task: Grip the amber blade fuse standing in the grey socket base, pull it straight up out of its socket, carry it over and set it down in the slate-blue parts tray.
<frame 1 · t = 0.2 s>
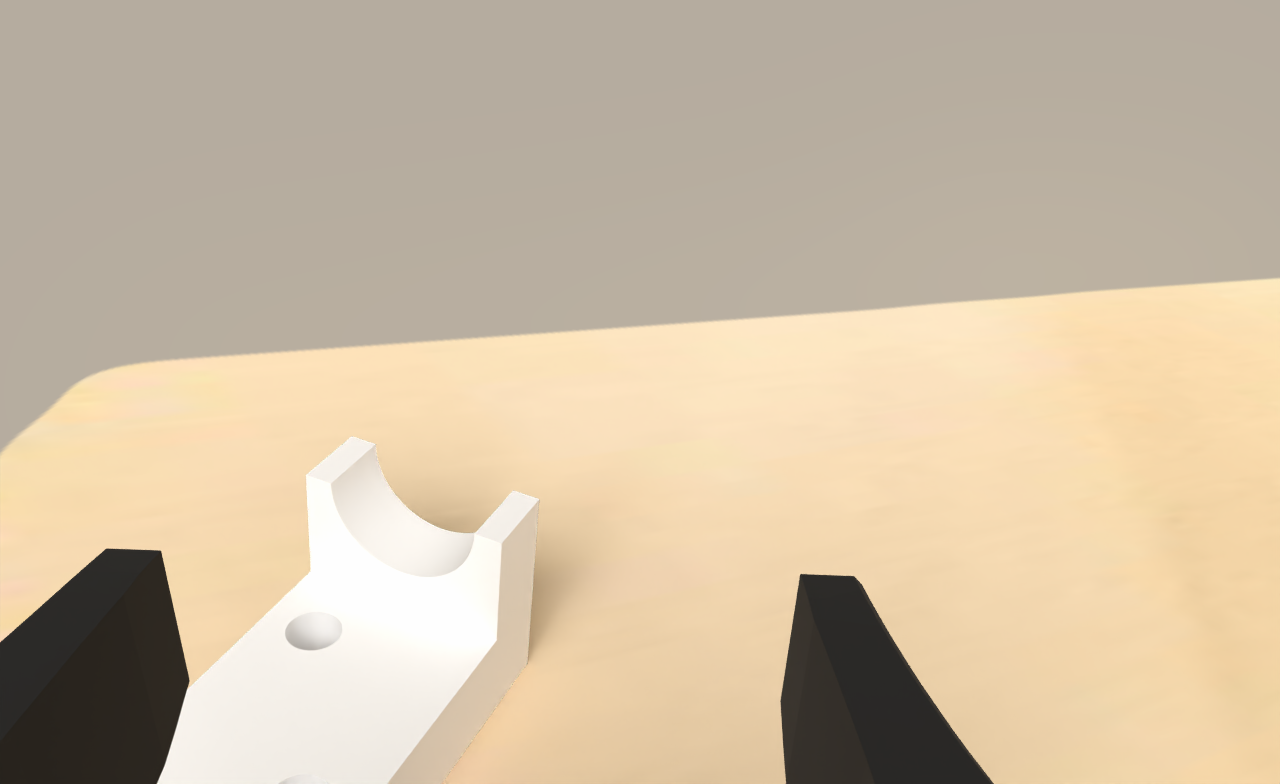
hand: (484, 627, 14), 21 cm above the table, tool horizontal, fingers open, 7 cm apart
bracket: (336, 765, 39), on the table
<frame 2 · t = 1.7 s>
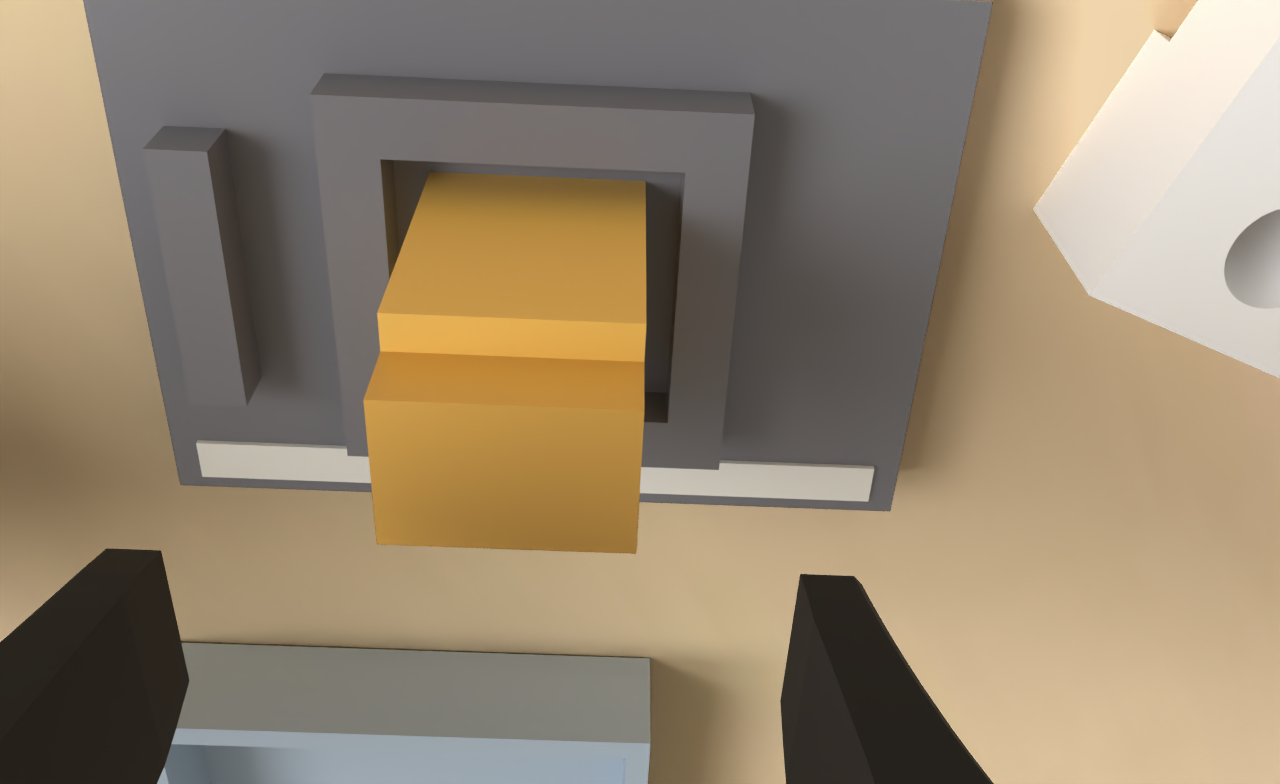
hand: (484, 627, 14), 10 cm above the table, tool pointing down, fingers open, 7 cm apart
parts tray: (421, 780, 30), on the table
grey socket base: (542, 242, 22), on the table
fuse: (537, 272, 21), point 1 cm above the table, touching grey socket base
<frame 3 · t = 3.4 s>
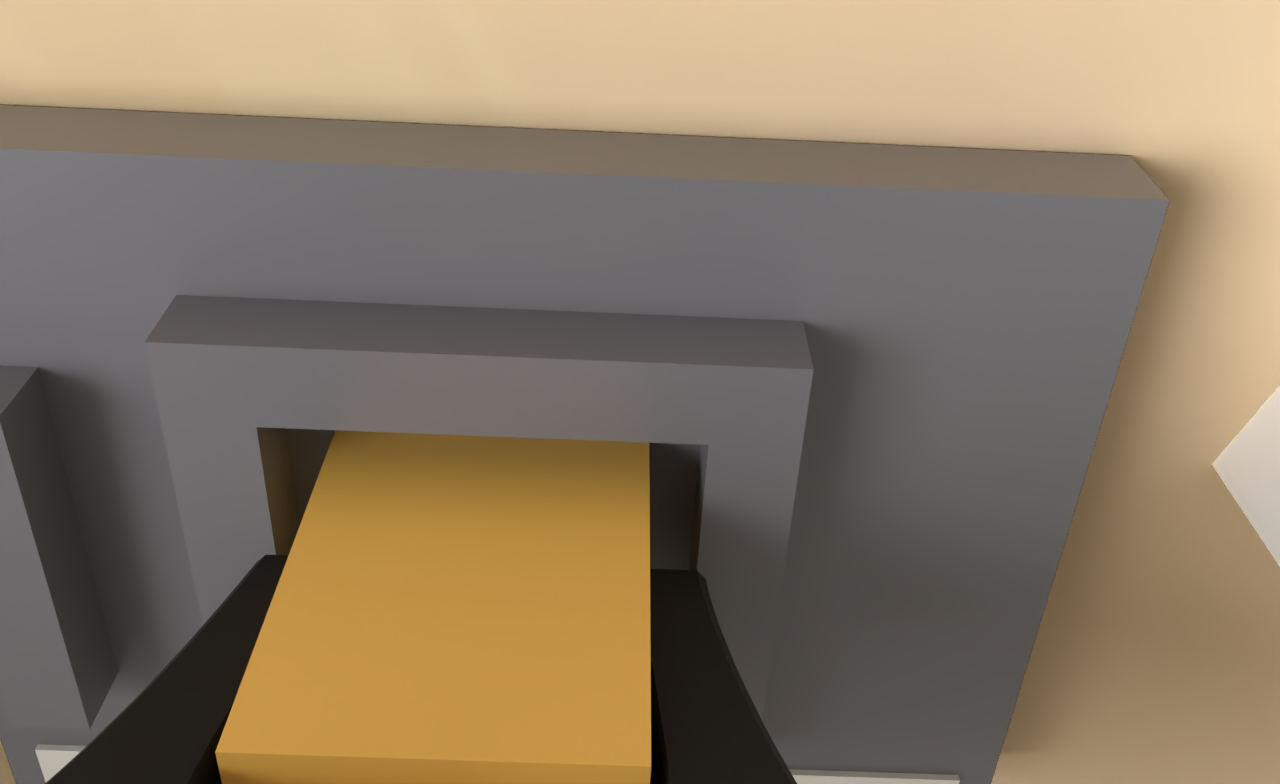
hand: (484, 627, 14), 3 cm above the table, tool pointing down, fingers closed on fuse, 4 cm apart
grey socket base: (506, 488, 16), on the table
fuse: (496, 548, 15), point 1 cm above the table, touching grey socket base, gripper
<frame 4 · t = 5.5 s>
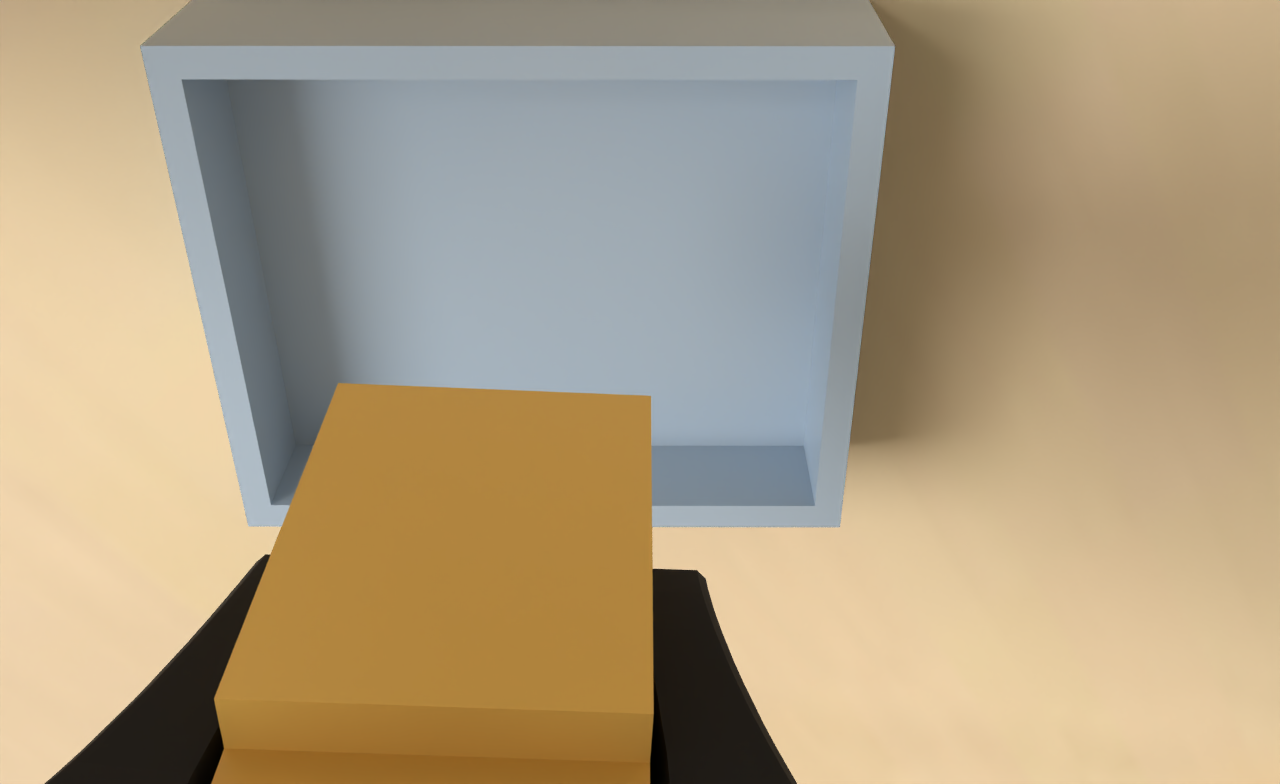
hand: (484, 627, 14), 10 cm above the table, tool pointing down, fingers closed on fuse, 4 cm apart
parts tray: (542, 248, 22), on the table
fuse: (497, 511, 15), point 8 cm above the table, touching gripper
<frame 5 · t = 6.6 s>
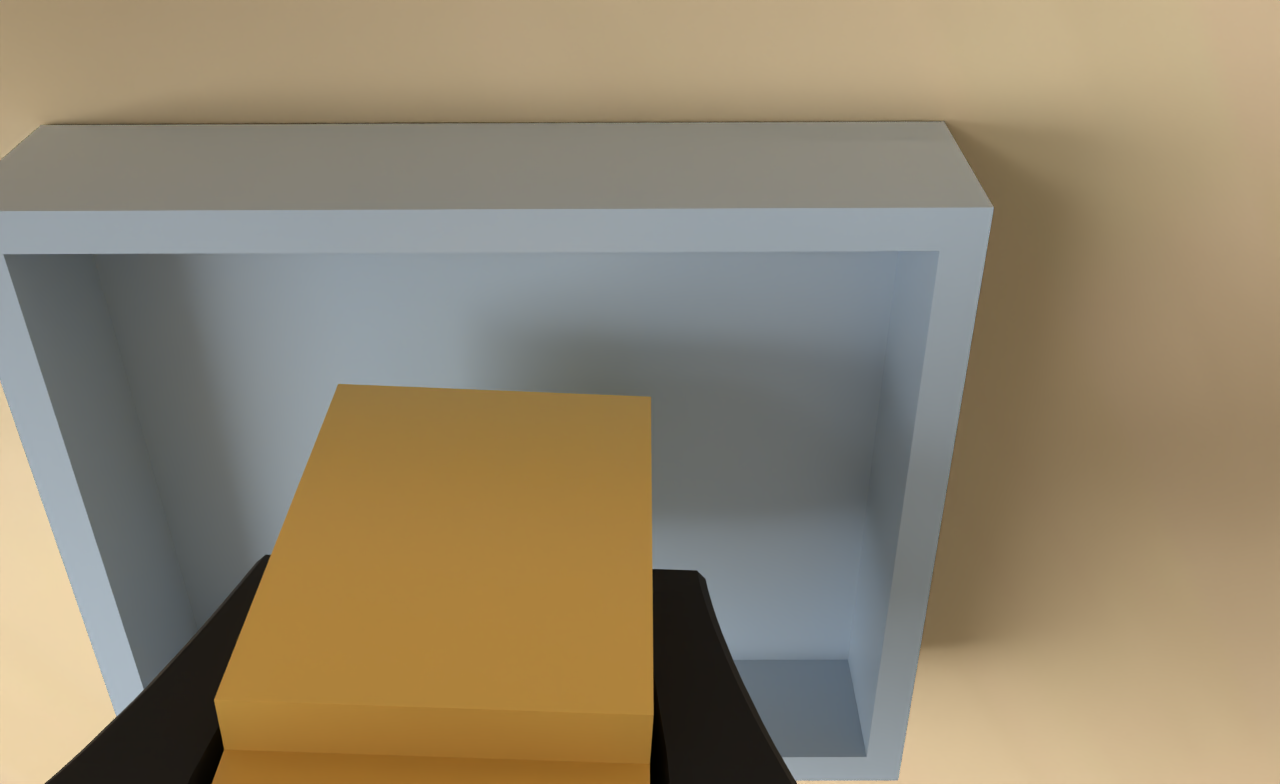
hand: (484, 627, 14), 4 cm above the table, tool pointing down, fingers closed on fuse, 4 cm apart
parts tray: (514, 427, 17), on the table
fuse: (497, 512, 15), point 2 cm above the table, touching gripper
when the fingers open (4 cm above the table, at t = 7.5 s): fuse drops 1 cm, resting on parts tray.
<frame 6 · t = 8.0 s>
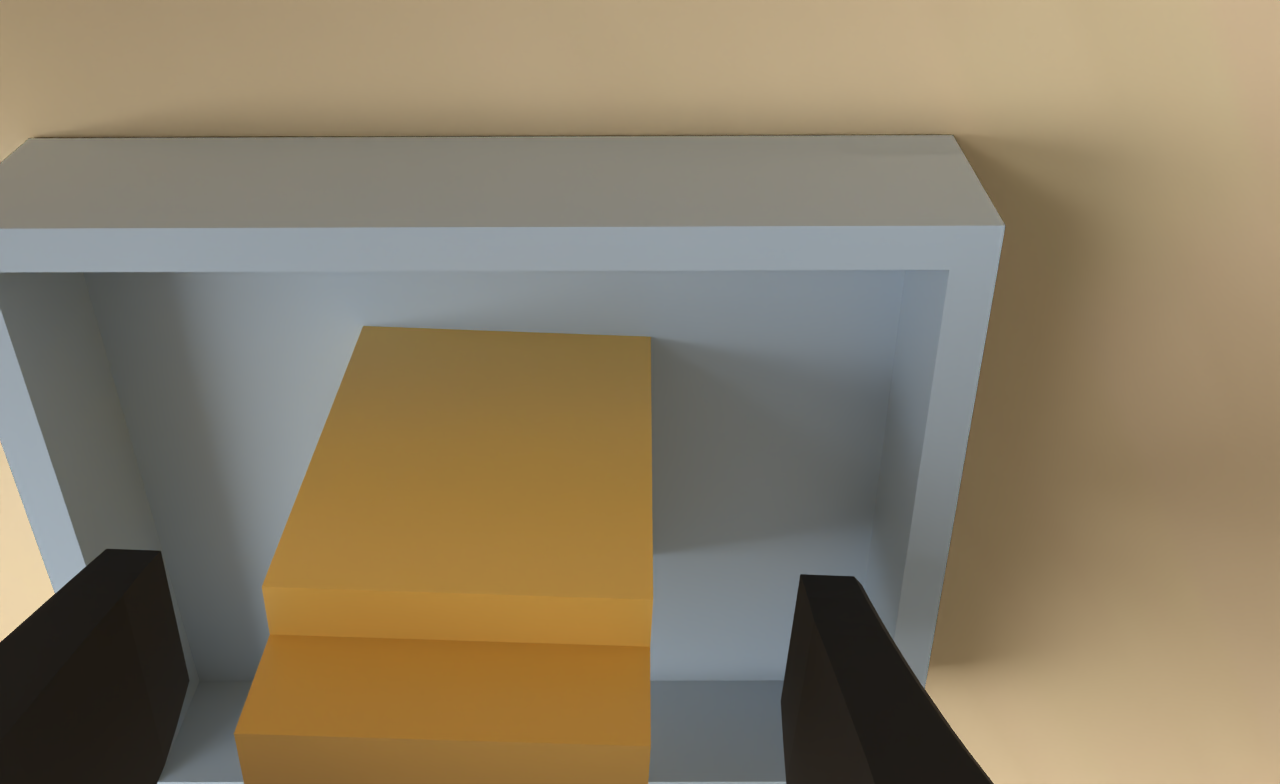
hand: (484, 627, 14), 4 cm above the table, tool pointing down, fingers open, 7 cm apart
parts tray: (513, 444, 17), on the table
fuse: (509, 448, 16), point 1 cm above the table, touching parts tray
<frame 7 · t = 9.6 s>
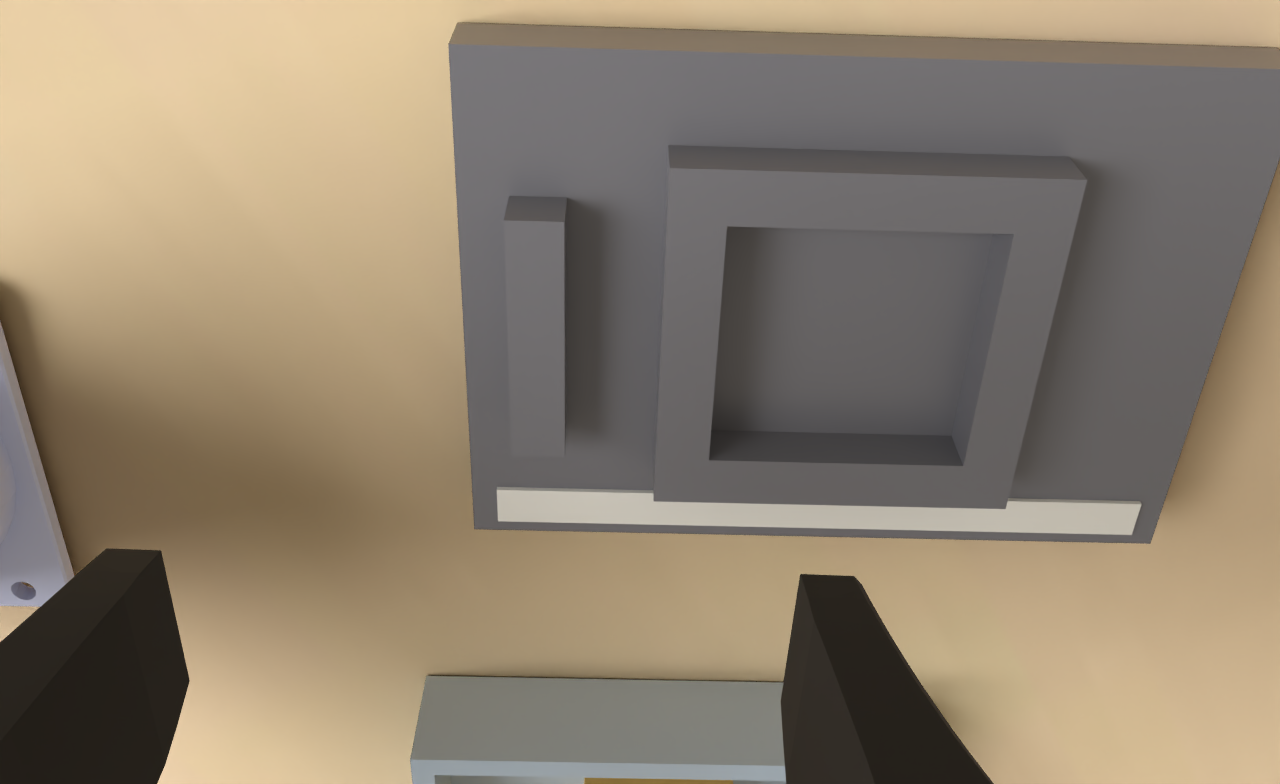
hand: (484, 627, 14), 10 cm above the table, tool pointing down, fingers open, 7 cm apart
grey socket base: (835, 294, 23), on the table
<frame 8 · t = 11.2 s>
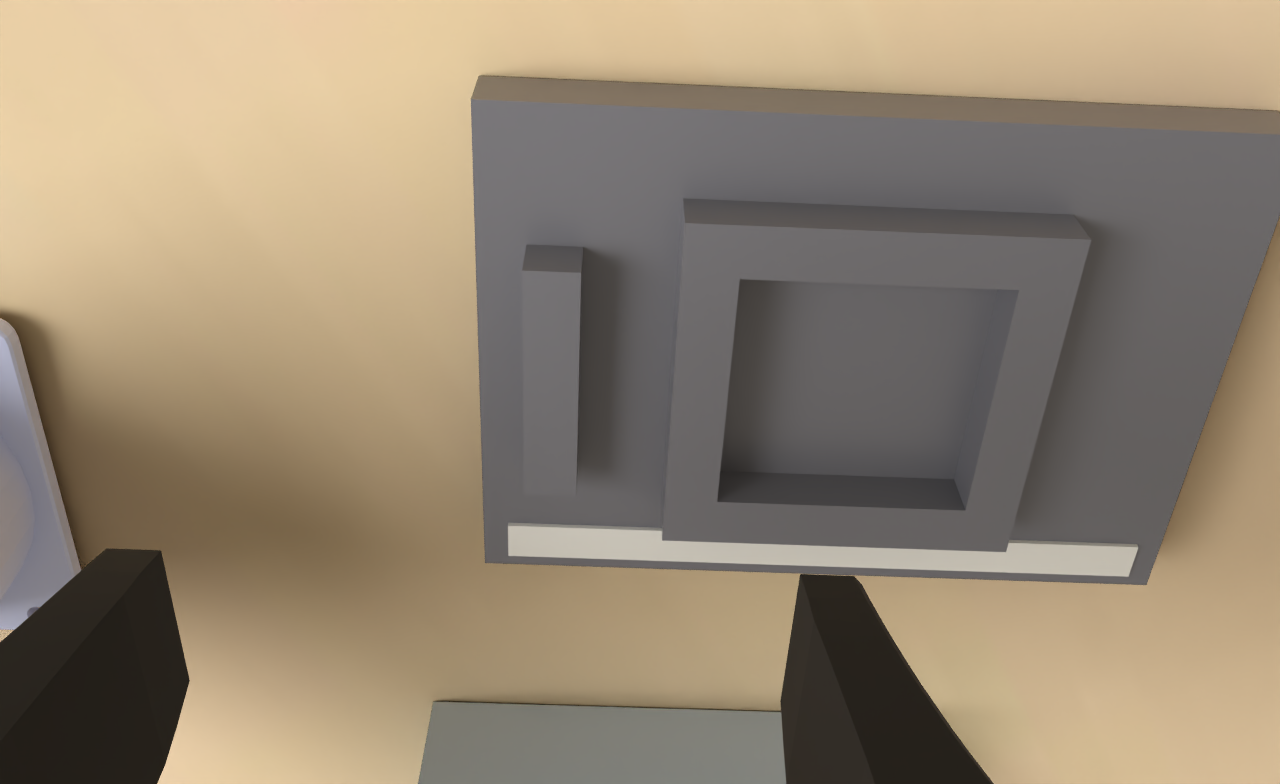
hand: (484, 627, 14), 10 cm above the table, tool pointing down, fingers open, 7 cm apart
grey socket base: (842, 340, 24), on the table
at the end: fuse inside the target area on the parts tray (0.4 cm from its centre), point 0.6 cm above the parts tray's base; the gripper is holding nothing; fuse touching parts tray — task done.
